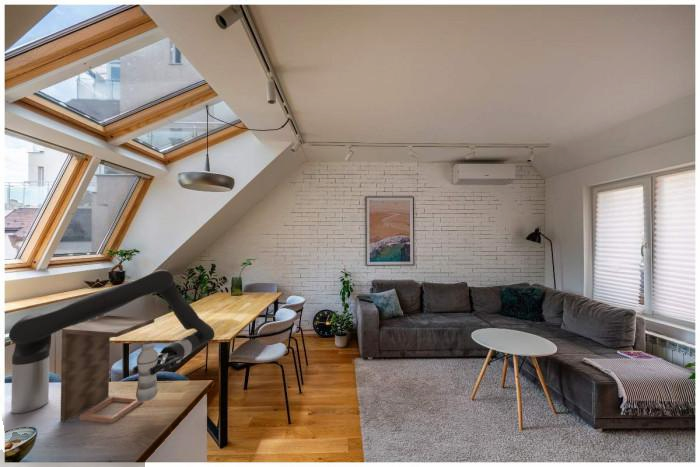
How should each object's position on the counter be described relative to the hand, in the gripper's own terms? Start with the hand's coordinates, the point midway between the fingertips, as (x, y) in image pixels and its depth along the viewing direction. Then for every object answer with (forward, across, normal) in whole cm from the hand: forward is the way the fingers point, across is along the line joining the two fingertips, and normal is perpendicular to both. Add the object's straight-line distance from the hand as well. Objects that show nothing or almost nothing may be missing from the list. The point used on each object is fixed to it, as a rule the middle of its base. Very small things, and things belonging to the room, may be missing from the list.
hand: (142, 371), depth 101 cm
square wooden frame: (-3, -14, +17) cm, 22 cm away
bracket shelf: (-3, -15, +17) cm, 23 cm away
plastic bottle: (-2, 0, +11) cm, 11 cm away
